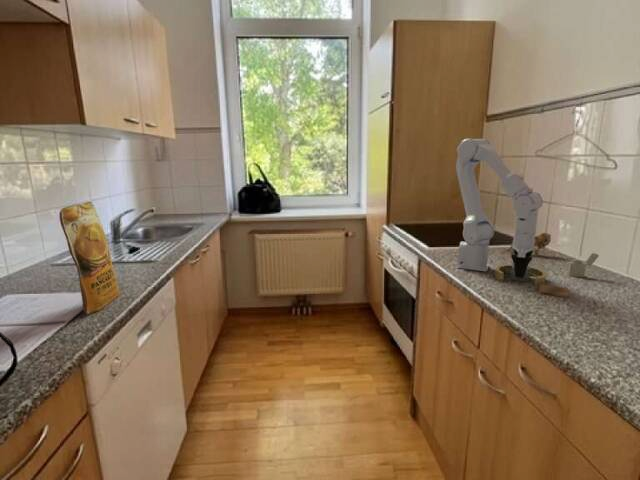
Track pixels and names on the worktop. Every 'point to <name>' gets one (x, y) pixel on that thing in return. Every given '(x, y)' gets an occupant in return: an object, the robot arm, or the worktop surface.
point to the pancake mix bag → (90, 256)
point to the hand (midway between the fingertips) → (520, 273)
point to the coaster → (553, 290)
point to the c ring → (535, 272)
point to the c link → (525, 278)
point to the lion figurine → (538, 242)
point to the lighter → (581, 266)
